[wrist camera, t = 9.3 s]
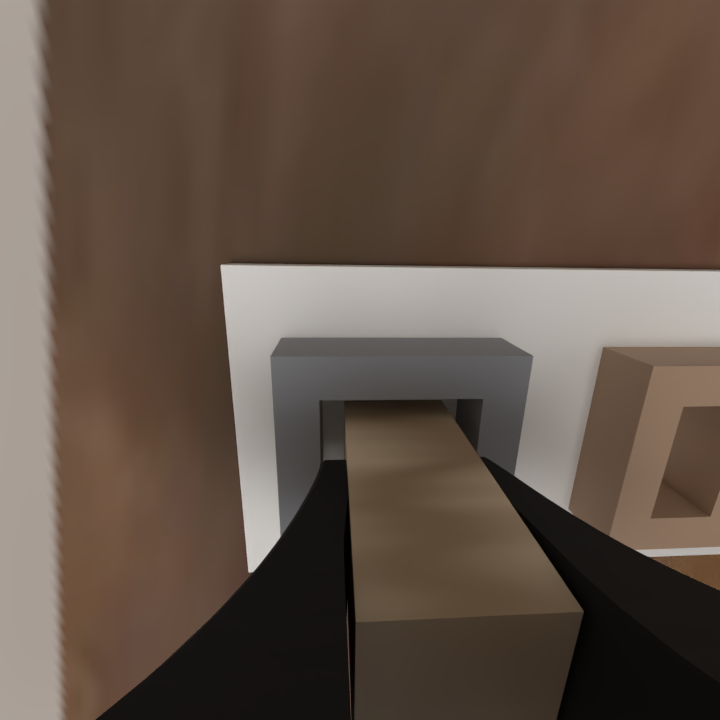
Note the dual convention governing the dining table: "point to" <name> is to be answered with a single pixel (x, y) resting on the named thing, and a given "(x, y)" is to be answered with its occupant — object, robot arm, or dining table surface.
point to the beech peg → (445, 578)
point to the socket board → (489, 384)
